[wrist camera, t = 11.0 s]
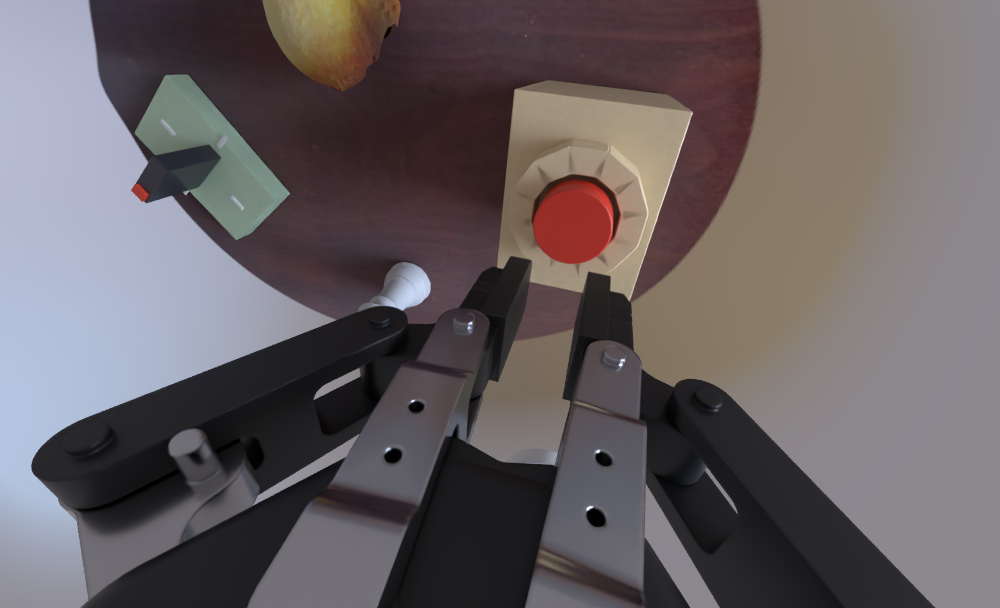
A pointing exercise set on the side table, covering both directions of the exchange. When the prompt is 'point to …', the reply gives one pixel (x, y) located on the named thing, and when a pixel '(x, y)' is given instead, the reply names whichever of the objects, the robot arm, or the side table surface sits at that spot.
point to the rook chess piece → (402, 288)
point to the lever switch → (239, 173)
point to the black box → (175, 172)
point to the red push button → (574, 222)
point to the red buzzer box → (590, 171)
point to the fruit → (332, 36)
